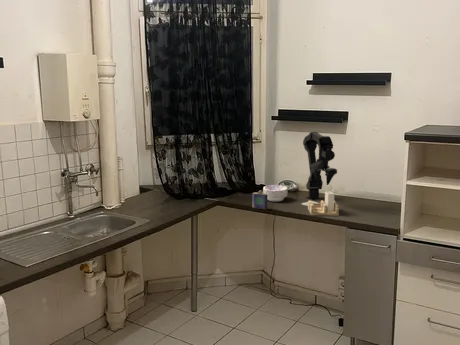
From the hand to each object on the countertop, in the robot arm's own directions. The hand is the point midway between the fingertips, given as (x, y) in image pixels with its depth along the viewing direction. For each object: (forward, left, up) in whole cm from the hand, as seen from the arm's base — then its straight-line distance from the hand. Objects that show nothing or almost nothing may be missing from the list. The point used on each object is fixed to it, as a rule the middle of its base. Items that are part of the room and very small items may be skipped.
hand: (322, 183), depth 282 cm
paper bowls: (-23, -18, -13) cm, 32 cm away
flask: (-11, -37, -13) cm, 41 cm away
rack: (+13, -10, -13) cm, 21 cm away
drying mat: (-1, -5, -13) cm, 14 cm away
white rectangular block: (+14, -7, -12) cm, 20 cm away
